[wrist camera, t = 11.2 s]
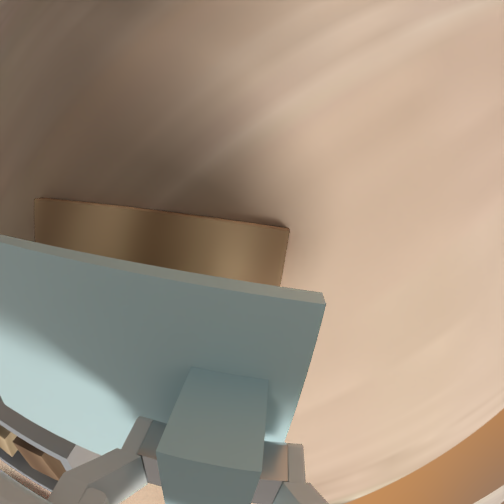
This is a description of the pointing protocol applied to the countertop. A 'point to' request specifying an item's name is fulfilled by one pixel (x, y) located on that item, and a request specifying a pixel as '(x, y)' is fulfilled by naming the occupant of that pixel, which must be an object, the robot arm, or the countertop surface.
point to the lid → (155, 361)
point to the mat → (165, 239)
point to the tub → (40, 447)
